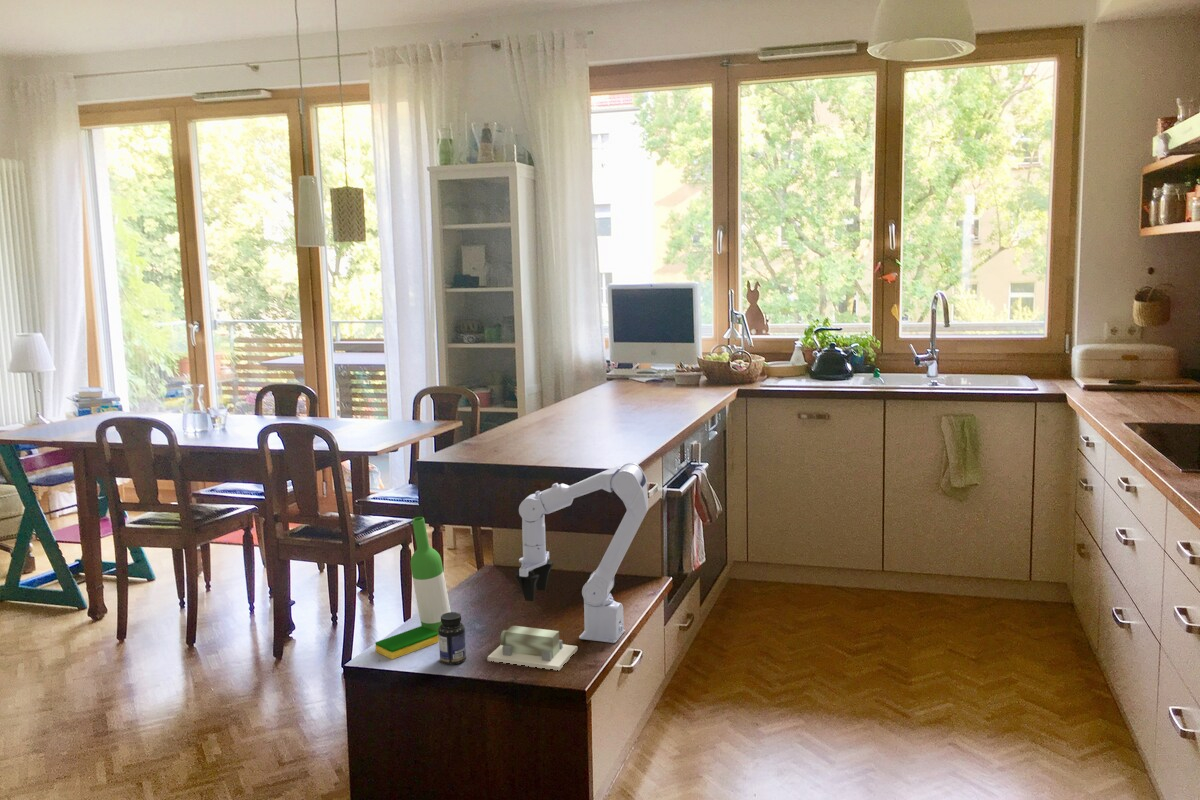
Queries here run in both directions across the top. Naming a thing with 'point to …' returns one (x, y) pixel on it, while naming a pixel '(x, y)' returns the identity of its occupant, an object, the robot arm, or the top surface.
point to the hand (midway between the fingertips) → (535, 595)
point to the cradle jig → (534, 657)
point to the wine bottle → (428, 579)
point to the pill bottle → (452, 639)
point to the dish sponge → (406, 642)
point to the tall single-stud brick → (530, 640)
